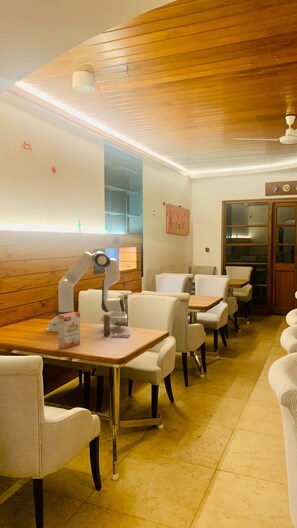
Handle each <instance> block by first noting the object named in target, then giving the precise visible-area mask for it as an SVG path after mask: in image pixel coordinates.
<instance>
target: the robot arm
mask: <svg viewBox="0 0 297 528" xmlns="http://www.w3.org/2000/svg"><path fill="white" fill-rule="evenodd" d="M91 265H95V266H97V267H100V268H104V271H105V272H104V273H105V276H104V277H105V279H103V281H102V284H101V290H102V291H101V304H100V306H101V310H102V311H103V312H105V313H110V312H111V314H110V323H113V324H120V323H127V322H128V314H127V313H126V303H125V301H124V299H123V298H120V297H119V298H118V297H117V298H108V297H109V296H108V294H109V292H108V291H109V288H110V287H111V286H113V285H115V284H116V283H118V282H119V281H120V280H121V279H120V278H121V273H120V271H121V270H120V267H119V263H118V261H117V259H116V258H110V257H109V256H108V254H106V253H105V252H104V251H100V250H97V251H93V252H89V251H84V252H82V253H80V255H79V256H78V257H77V259H76V260H75V261H74V262H73V264H72V265H71V266H70V267H69V268H68V270H66V273H64V275H63V276H62V277H61V279H59V281H58V286H57V287H58V288H57V289H58V292H57V293H58V294H57V296H58V297H57V298H58V311H55V315H56V316H55V317H53V318H52V319H51V320H50V321H49V322H48V326H47V327H46V328H45V331H47V332H56V333H57V332H58V333H59V317H58V316H59V315H61V314H66V313H71V312H75V310H74V305H75V304H74V287H75V286H76V285H77V283H78V282H79V281H80V279H81V278H82V277H83V276H84V275H85V273H86V272H87V270H88V269H89V268H90V267H91ZM99 319H100V322H103V323H104V316H103V315H102V316H100V318H99Z"/></svg>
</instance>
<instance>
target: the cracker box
mask: <svg viewBox="0 0 297 528" xmlns="http://www.w3.org/2000/svg"><path fill="white" fill-rule="evenodd" d="M58 317H59V332H58V348H60V349H64V350H65V349H68V348H71V347H74V346H75V347H76V346H78V345H80V344H81V312H79V311H74V312H71V313H66V314H61V315H59V316H58Z"/></svg>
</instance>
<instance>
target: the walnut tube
mask: <svg viewBox="0 0 297 528" xmlns="http://www.w3.org/2000/svg"><path fill="white" fill-rule="evenodd" d="M110 315H111V314H110V313H105V314H102V316H104V322H103V336H104V337H105V338H106V337H111V322H110Z"/></svg>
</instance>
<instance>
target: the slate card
mask: <svg viewBox="0 0 297 528" xmlns="http://www.w3.org/2000/svg"><path fill="white" fill-rule="evenodd" d="M130 336H131V334H130V333H129V334H127V333H125V334H124V333H113V334H112V335H110V338H117V339H118V338H119V339H128V338H129V337H130Z"/></svg>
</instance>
